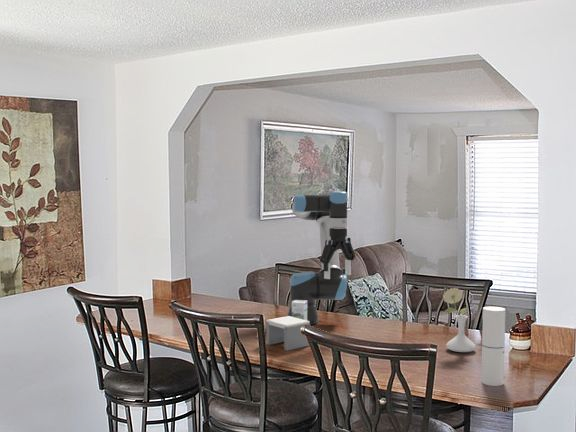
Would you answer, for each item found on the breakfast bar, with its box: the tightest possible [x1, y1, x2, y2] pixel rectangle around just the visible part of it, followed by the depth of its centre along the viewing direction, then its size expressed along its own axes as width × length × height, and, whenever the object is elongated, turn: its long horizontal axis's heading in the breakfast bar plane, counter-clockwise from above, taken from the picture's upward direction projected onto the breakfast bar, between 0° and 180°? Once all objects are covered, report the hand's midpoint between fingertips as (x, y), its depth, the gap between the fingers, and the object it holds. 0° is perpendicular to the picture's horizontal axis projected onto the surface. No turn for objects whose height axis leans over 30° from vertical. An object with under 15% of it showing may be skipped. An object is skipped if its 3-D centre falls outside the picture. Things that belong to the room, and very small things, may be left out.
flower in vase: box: [442, 287, 477, 353], centre depth 261 cm, size 13×11×25 cm
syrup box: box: [292, 300, 307, 320], centre depth 289 cm, size 6×6×14 cm
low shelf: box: [265, 315, 311, 351], centre depth 270 cm, size 13×12×10 cm
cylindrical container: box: [480, 306, 506, 387], centre depth 222 cm, size 7×7×25 cm
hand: (337, 276), depth 286 cm, fingers open, 13 cm apart
